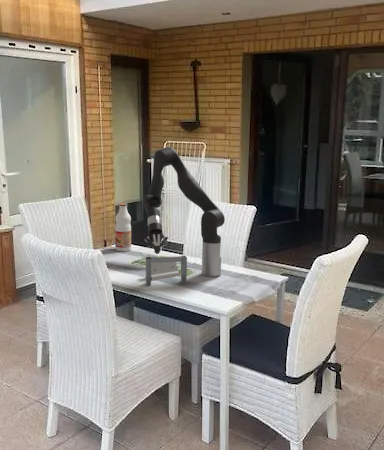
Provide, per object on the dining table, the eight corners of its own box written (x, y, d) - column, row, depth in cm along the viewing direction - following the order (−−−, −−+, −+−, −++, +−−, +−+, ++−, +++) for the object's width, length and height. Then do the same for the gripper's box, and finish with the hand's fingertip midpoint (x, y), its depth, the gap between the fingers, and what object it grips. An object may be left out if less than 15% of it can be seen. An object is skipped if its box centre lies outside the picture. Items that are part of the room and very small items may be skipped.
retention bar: (184, 281, 240) (185, 255, 237) (186, 284, 236) (187, 257, 233) (145, 283, 236) (145, 256, 233) (146, 285, 232) (146, 259, 229)
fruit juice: (130, 251, 292) (130, 205, 287) (114, 251, 292) (114, 204, 286) (131, 248, 301) (132, 202, 296) (116, 247, 301) (116, 202, 296)
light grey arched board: (151, 280, 240) (148, 260, 240) (147, 281, 244) (144, 261, 244) (180, 275, 249) (177, 256, 250) (175, 276, 253) (172, 257, 254)
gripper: (143, 222, 266) (145, 249, 256) (167, 221, 268) (170, 249, 259) (142, 229, 272) (144, 257, 262) (165, 229, 274) (168, 256, 265)
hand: (157, 253), depth 261 cm, fingers closed
